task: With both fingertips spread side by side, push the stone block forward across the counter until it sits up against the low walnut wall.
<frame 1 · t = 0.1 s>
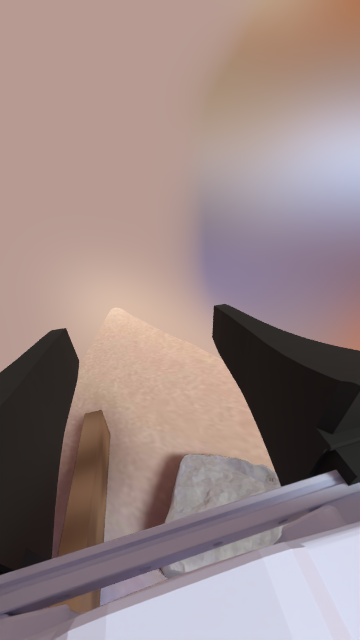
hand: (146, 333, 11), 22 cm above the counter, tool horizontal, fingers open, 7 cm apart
stone block: (228, 520, 21), on the counter
walnut wall: (90, 562, 19), on the counter
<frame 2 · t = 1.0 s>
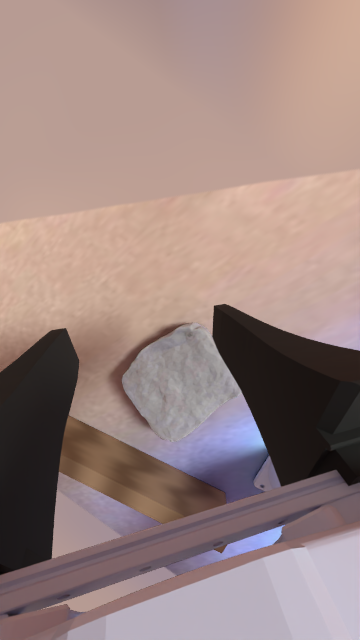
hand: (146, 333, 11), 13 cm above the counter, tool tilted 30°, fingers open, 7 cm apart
stone block: (181, 369, 25), on the counter
walnut wall: (134, 456, 27), on the counter
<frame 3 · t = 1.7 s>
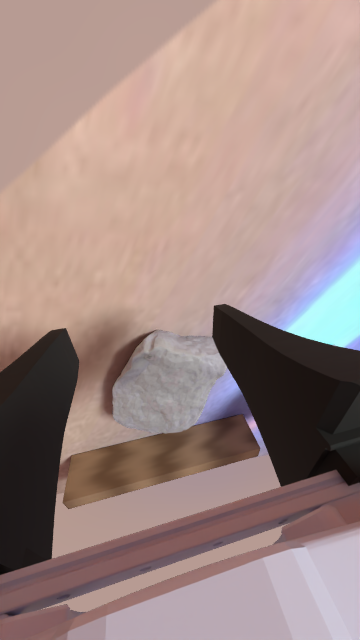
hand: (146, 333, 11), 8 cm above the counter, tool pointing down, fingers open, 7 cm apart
stone block: (160, 370, 24), on the counter
walnut wall: (163, 437, 30), on the counter
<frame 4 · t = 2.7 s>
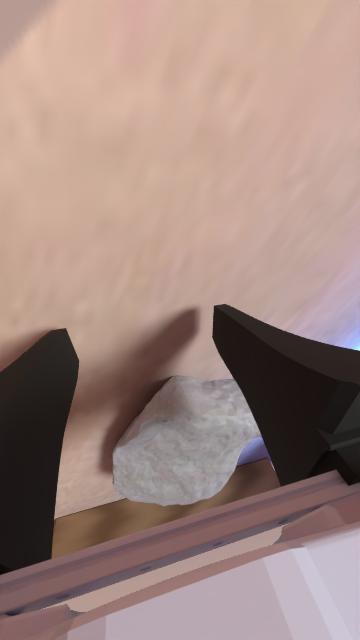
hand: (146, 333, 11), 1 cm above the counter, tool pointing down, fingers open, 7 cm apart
stone block: (175, 419, 18), on the counter
walnut wall: (171, 489, 25), on the counter
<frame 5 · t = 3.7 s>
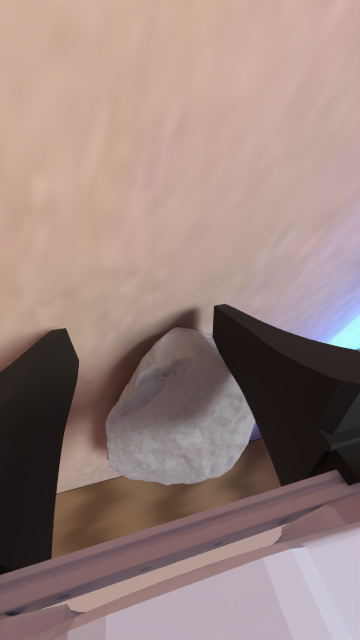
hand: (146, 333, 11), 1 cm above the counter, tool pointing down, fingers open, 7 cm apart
stone block: (178, 387, 16), on the counter, touching gripper
walnut wall: (168, 468, 22), on the counter
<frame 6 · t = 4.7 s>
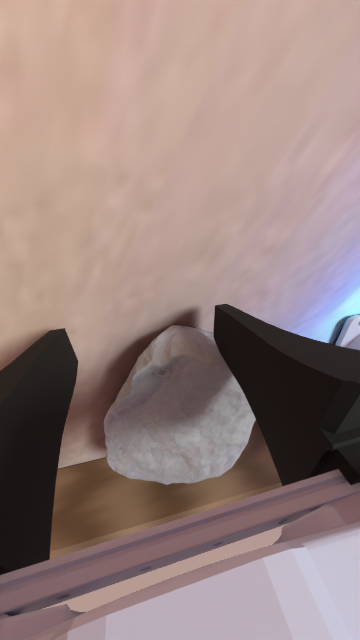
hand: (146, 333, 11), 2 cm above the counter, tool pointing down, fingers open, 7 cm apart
stone block: (177, 386, 16), on the counter, touching gripper, walnut wall
walnut wall: (166, 448, 20), on the counter
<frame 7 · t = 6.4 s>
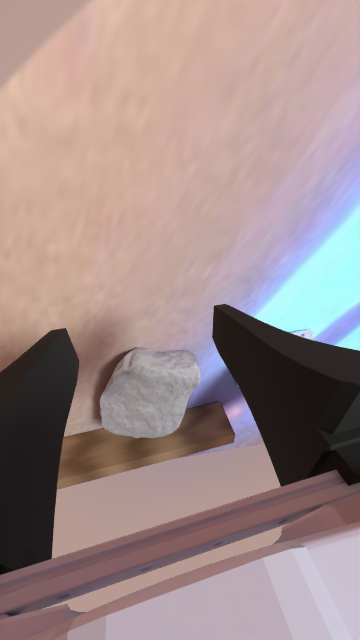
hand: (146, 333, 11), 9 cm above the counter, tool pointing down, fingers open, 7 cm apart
stone block: (144, 381, 27), on the counter
walnut wall: (138, 424, 30), on the counter
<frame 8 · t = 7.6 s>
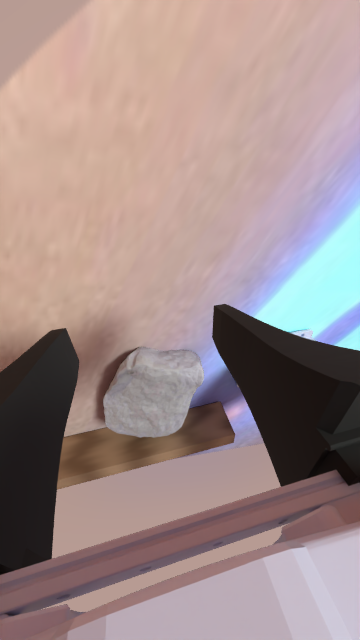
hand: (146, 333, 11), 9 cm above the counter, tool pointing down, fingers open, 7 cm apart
stone block: (147, 380, 27), on the counter
walnut wall: (138, 424, 30), on the counter
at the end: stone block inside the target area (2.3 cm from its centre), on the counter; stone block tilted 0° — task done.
